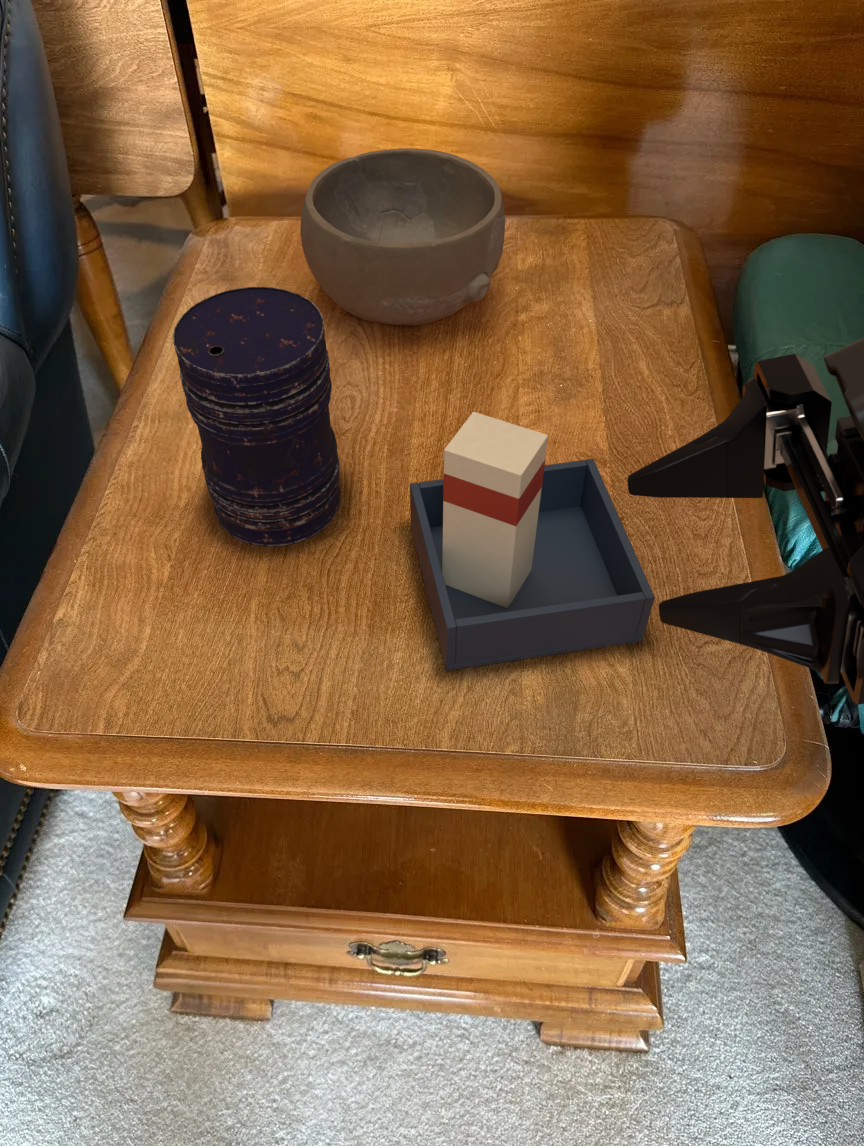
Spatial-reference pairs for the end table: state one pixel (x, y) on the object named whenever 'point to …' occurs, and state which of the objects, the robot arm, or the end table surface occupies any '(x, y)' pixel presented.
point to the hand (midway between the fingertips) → (642, 544)
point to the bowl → (403, 234)
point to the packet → (491, 507)
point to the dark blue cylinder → (262, 412)
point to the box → (542, 578)
